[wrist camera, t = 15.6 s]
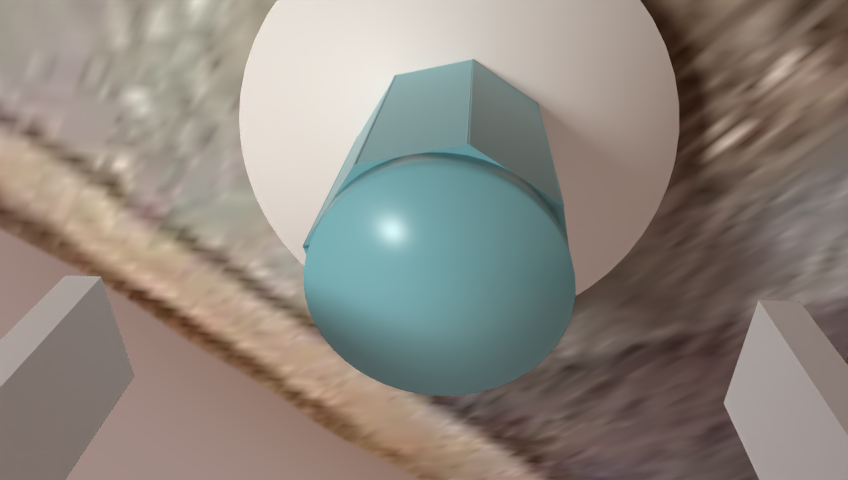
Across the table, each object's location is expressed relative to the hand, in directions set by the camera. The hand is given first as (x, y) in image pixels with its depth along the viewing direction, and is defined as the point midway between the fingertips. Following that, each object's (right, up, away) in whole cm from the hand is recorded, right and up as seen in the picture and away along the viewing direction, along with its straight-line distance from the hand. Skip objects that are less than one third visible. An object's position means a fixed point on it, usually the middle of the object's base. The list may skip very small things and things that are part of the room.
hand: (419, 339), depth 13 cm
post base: (+1, +6, +12) cm, 13 cm away
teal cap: (+1, +5, +10) cm, 11 cm away
